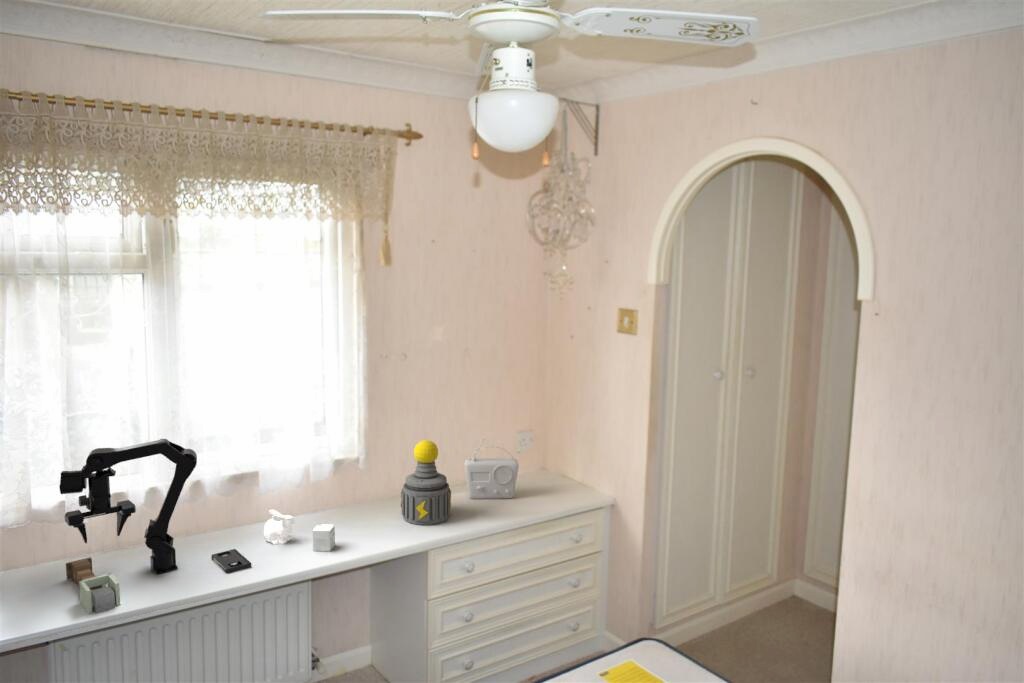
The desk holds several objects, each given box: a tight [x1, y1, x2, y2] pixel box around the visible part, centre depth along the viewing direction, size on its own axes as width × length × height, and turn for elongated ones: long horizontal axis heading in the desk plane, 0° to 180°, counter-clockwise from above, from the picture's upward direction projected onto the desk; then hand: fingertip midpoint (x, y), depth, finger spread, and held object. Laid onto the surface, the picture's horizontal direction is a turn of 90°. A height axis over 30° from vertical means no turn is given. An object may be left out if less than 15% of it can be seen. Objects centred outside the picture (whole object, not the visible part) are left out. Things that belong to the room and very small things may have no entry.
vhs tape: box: [211, 548, 252, 574], centre depth 256 cm, size 14×8×2 cm, turn 39°
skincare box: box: [312, 523, 336, 552], centre depth 269 cm, size 6×6×7 cm
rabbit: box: [263, 509, 296, 545], centre depth 274 cm, size 12×9×12 cm
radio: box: [464, 438, 520, 500], centre depth 323 cm, size 22×8×25 cm, turn 95°
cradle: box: [78, 573, 121, 614], centre depth 228 cm, size 8×11×7 cm
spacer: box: [91, 585, 116, 614], centre depth 225 cm, size 5×5×5 cm
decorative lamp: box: [400, 439, 452, 526], centre depth 298 cm, size 19×19×30 cm
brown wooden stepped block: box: [65, 556, 101, 590], centre depth 238 cm, size 18×7×5 cm, turn 42°
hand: (102, 539), depth 244 cm, fingers open, 9 cm apart
